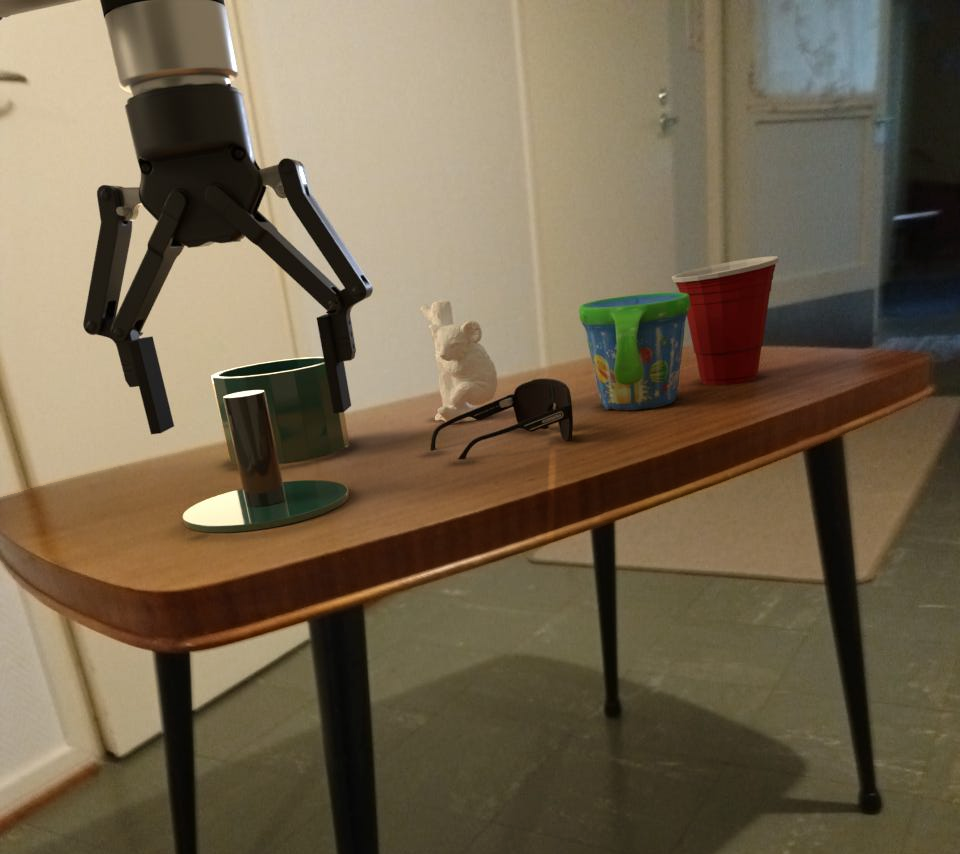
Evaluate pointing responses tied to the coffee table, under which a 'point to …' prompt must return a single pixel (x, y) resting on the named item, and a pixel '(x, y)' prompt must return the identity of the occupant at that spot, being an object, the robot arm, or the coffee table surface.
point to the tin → (288, 406)
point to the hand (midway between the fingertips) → (251, 420)
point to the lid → (260, 479)
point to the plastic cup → (728, 317)
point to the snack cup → (636, 348)
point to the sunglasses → (526, 410)
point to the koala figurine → (460, 363)
